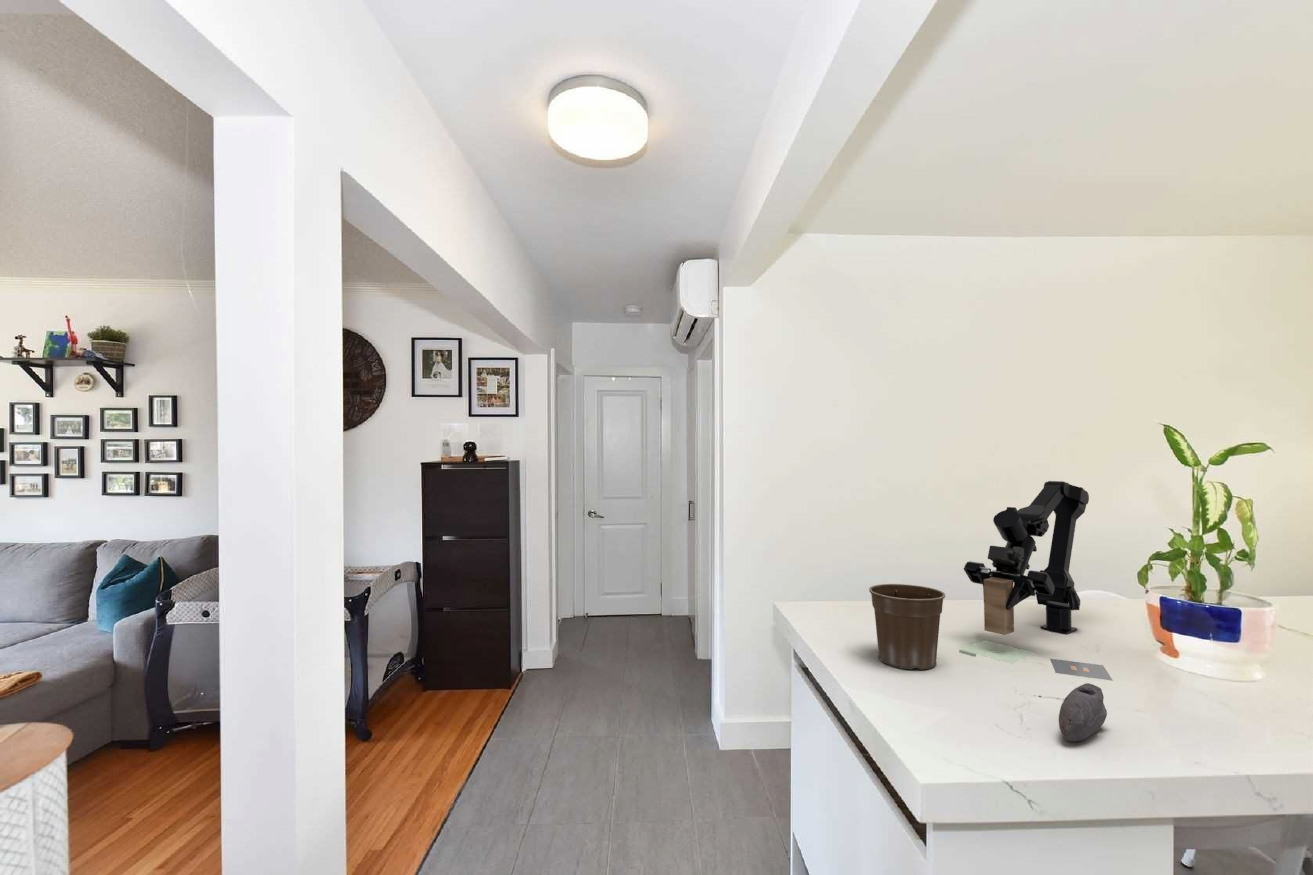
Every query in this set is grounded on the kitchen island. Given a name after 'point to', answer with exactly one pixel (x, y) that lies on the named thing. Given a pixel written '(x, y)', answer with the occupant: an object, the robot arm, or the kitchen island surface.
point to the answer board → (997, 651)
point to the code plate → (1080, 669)
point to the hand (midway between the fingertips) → (996, 606)
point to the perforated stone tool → (1082, 712)
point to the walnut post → (998, 606)
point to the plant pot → (907, 624)
